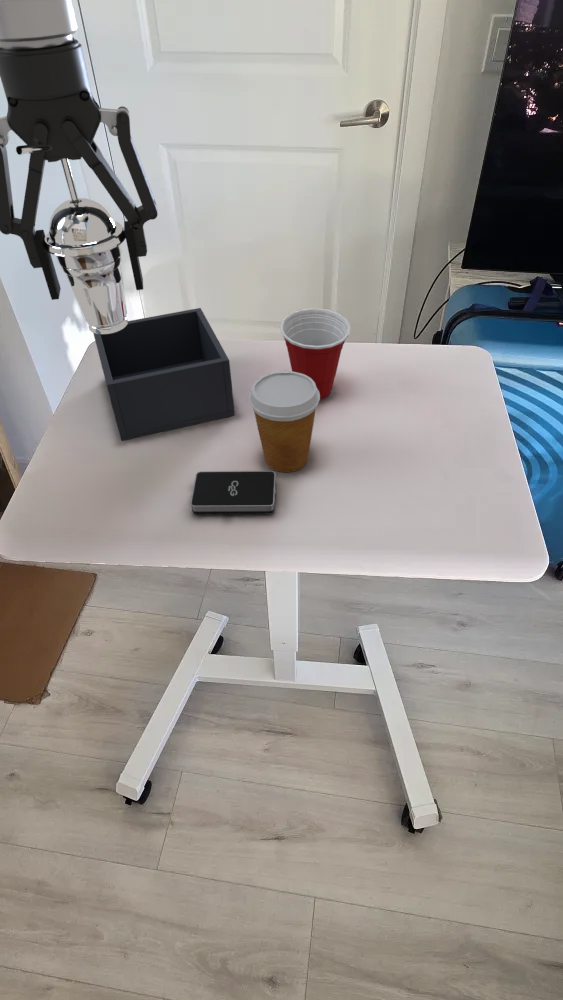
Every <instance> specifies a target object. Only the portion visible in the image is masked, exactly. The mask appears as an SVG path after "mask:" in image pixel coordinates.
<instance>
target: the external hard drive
mask: <svg viewBox="0 0 563 1000" xmlns="http://www.w3.org/2000/svg"><path fill="white" fill-rule="evenodd" d="M276 475H277V474H276V471H274V470H222V471H221V470H219V471H217V470H213V471H209V470H208V471H204V470H203V471H202V470H201V471H198V472H196V474H195V477H194V482H193V487H192V493H191V497H190V509H191V512H192V514H194V515H272V514H273V513H274V512H275V509H276V508H275V504H276V494H277V488H276V485H277V484H276V483H277V479H276V477H277V476H276Z"/></svg>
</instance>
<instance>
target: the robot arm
mask: <svg viewBox="0 0 563 1000" xmlns="http://www.w3.org/2000/svg"><path fill="white" fill-rule="evenodd" d="M76 17H77V16H76V14H75V8H74V3H73V0H0V81H1V84H2V87H3V88H2V89H3V91H4V94H5V98H6V101H7V102H6V103H7V113H6V115H5V116H2V117H0V233H2V234H3V235H5V236H7V235H8V236H9V235H14V236H17V237H19V238H20V239H21V241H22V242H23V245H24V248H25V252H26V254H27V258H28V261H29V264H30V265H31V267H32V268H33V269H40V268H41V269H42V273H43V277H44V279H45V282H46V285H47V289H48V292H49V295H50V299H51V301H53V300H60V294H61V285H60V281H59V277H58V275H57V271H56V268H55V265H54V261H53V257H52V254H51V253H49V252H48V251H47V250H46V249H45V241H44V239H45V236H46V234H45V231H44V229H36V228H35V227H36V221H37V214H38V208H39V203H40V195H41V189H42V183H43V177H44V172H45V171H44V170H45V166H46V161H47V163H57V162H58V161H61V159H68V160H69V161H78V160H82V159H83V160H84V162H85V163H86V164H87V166H88V167H89V168H90V169H91V170H92V172H93V173H94V175H95V176H96V178H97V179H98V180H99V182H100V184H101V185H102V186H103V188H104V189H105V190H106V192H107V194H108V195H109V196H110V198H111V199H112V200H113V202H114V203H115V205H116V206H117V208H118V209H119V210H120V212H121V213H122V215H123V216H124V218H125V219H126V220H124V222H123V230H124V232H125V237H126V238H125V241H126V246H127V251H128V257H129V260H130V265H131V270H132V275H133V280H134V285H135V290H136V291H142V290H144V278H143V277H144V276H143V273H142V267H141V262H140V258H141V257H147V253H148V244H147V240H146V233H145V229H144V225H145V223H147V222H148V221H151V220H155V219H157V218H158V204H157V202H156V199H155V196H154V194H153V191H152V188H151V186H150V183H149V180H148V178H147V175H146V171H145V169H144V167H143V164H142V161H141V158H140V155H139V152H138V150H137V147H136V144H135V142H134V139H133V136H132V133H131V119H130V118H131V114H130V111H129V109H128V108H127V107H126V106H123V105H121V106H119V107H118V108H117V109H116V108H105V107H100V105H99V104H98V102H97V101H96V100H95V98H94V95H93V92H92V89H91V84H90V79H89V74H88V69H87V64H86V59H85V56H84V51H83V45H82V44H81V43H80V42H79V40H77V38H75V37H74V36H73V34H75V33H76V32H77V30H78V29H79V26H78V21H77V18H76ZM101 123H103V124H105V126H106V127H107V129H108V132H109V133H110V134H111V135H112V136H114V137H117V142H118V146H119V148H120V152H121V154H122V156H123V159H124V161H125V164H126V167H127V170H128V172H129V174H130V177H131V180H132V182H133V185H134V187H135V190H136V193H137V195H138V199H139V201H140V203H141V205H140V206H137V204H136V203H135V201H134V199H133V198H132V197H131V195H130V194H129V192H128V191H127V189H126V188H125V187H124V184H123V183H122V182H121V180H120V179H119V177H118V176H117V175H116V173H115V171H114V170H113V168H112V167H111V166H110V164H109V163H108V161H107V160H106V158H105V157H104V155H103V153H102V151H101V149H100V148H99V146H98V145H97V143H96V142H95V136H96V134H97V131H98V129H99V127H100V125H101ZM10 131H12V132H13V133H14V134H15V135H16V136H17V137H18V138H19V139H20V140H21V141H22V142H23V143H24V144H25V145H31V144H43V145H44V146H46V144H47V143H49V144H50V145H51V146H52V150H51V151H46V152H45V151H44V152H38V153H30V154H29V162H28V170H27V178H26V183H25V184H26V185H25V190H24V198H23V199H24V200H23V204H22V211H21V218H18V217H16V216H15V210H14V201H13V192H12V184H11V176H10V174H11V173H10V165H9V159H8V151H7V145H8V143H9V141H10Z"/></svg>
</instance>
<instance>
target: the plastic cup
mask: <svg viewBox="0 0 563 1000" xmlns="http://www.w3.org/2000/svg"><path fill="white" fill-rule="evenodd" d="M351 327H352V325H351V324H350V322H349V321H348V319H347V318H346V317H345V316H343V315H342V314H340V313H339V312H336V311H333V310H330V309H326V308H315V307H311V308H303V309H298V310H296V311H293V312H290V313H288V314H287V315H286V316H285V317H284V318H283V319H281V322H280V325H279V331H280V333H281V335H282V337H283V340H284V342H285V345H286V350H287V354H288V358H289V363H290V368H291V371H293V372H297V373H302V374H304V375H307V376H308V377H310V378H311V379H312V380H313V381H314V382H315V384H316V388H317V389H318V391H319V393H320V400H323V399H325V398H328V397H329V396H330V395H331V394H332V390H333V388H334V382H335V378H336V375H337V371H338V366H339V362H340V358H341V354H342V350H343V347H344V344H345V342H346V341H347V339H348V338H349V336H350V332H351Z"/></svg>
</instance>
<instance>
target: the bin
mask: <svg viewBox="0 0 563 1000" xmlns="http://www.w3.org/2000/svg"><path fill="white" fill-rule="evenodd" d="M92 333H93V332H92ZM215 333H216V332H214V329H213V328H212V325H211V324H210V322H209V321H208V319H207V317H206V315H205V313H204V311H203V310H202V308H201V307H197V308H192V309H187V310H182V311H176V312H170V313H165V314H159V315H154V316H148V317H143V318H137V319H131V320H128V324H127V325H126V327H125V328H123V329H122V330H120V331H117V332H114V333H110V334H96V333H93V337H94V342H95V345H96V349H97V353H98V357H99V361H100V366H101V369H102V372H103V376H104V381H105V384H106V388H107V392H108V396H109V399H110V403H111V408H112V411H113V414H114V419H115V422H116V423H115V424H116V426H117V430H118V433H119V438H120V441H121V442H122V441H127V440H131V439H134V438H140V437H145V436H149V435H154V434H158V433H162V432H166V431H171V430H175V429H181V428H185V427H189V426H193V425H197V424H202V423H207V422H211V421H215V420H220V419H223V418H229V417H233V416H235V415H236V412H235V404H234V403H235V402H234V392H233V384H232V374H231V364H230V359H229V357H228V355H227V353H226V351H225V350H224V348H223V346H222V344H221V342H220V341H219V338H218V337H217V335H216V334H215Z"/></svg>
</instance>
